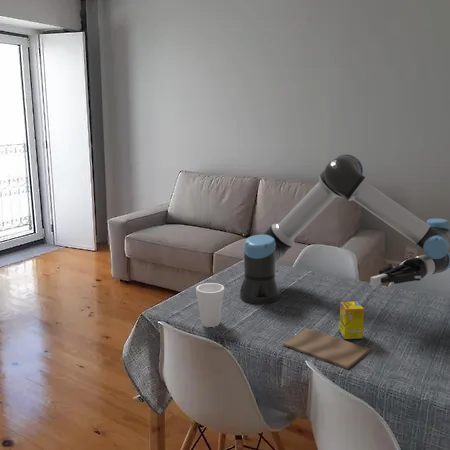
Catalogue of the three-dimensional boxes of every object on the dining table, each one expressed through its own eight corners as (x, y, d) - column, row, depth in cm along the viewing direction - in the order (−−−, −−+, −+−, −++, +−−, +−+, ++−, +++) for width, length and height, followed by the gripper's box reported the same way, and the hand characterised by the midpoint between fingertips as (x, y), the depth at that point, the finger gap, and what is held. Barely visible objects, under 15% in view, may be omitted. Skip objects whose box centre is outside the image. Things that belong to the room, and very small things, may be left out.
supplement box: (338, 333, 166) (339, 301, 163) (356, 332, 166) (358, 301, 163) (344, 341, 160) (345, 309, 157) (362, 340, 160) (364, 308, 158)
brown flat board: (282, 345, 157) (282, 343, 157) (307, 330, 167) (307, 328, 167) (347, 369, 143) (347, 366, 143) (369, 351, 153) (369, 348, 153)
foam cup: (228, 320, 176) (228, 284, 173) (219, 331, 168) (218, 294, 164) (202, 316, 179) (202, 281, 176) (192, 327, 171) (191, 291, 168)
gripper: (433, 283, 172) (388, 298, 159) (401, 273, 182) (356, 287, 169) (435, 261, 170) (389, 276, 157) (402, 253, 180) (356, 265, 168)
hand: (372, 281), depth 163 cm, fingers closed
